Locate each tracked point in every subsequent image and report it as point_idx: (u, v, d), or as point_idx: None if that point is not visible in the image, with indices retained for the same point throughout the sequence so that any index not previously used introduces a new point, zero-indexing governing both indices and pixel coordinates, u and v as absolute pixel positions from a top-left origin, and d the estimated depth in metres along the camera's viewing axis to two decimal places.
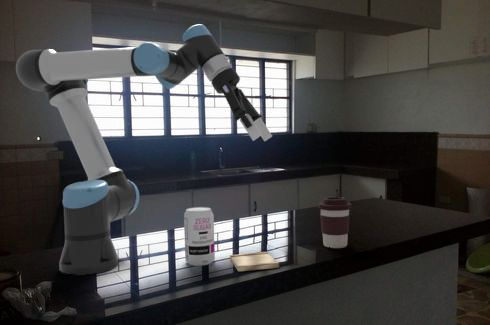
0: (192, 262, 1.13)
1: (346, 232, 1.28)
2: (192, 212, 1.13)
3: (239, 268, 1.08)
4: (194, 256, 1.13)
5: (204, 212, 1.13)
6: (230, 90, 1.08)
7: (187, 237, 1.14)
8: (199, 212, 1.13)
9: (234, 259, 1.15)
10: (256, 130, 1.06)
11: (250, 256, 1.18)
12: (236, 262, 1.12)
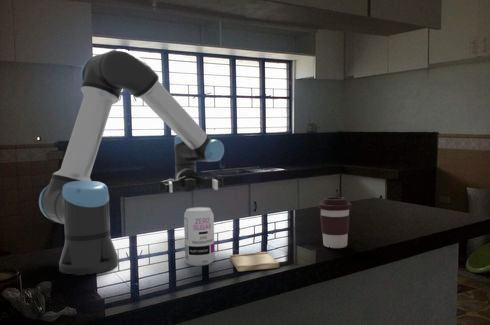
0: (192, 262, 1.13)
1: (346, 232, 1.28)
2: (192, 212, 1.13)
3: (239, 268, 1.08)
4: (194, 256, 1.13)
5: (204, 212, 1.13)
6: None
7: (187, 237, 1.14)
8: (199, 212, 1.13)
9: (234, 259, 1.15)
10: None
11: (250, 256, 1.18)
12: (236, 262, 1.12)
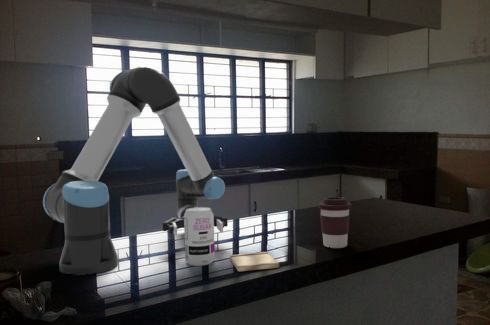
0: (192, 262, 1.13)
1: (346, 232, 1.28)
2: (192, 212, 1.13)
3: (239, 268, 1.08)
4: (194, 256, 1.13)
5: (204, 212, 1.13)
6: None
7: (187, 237, 1.14)
8: (199, 212, 1.13)
9: (234, 259, 1.15)
10: None
11: (250, 256, 1.18)
12: (236, 262, 1.12)
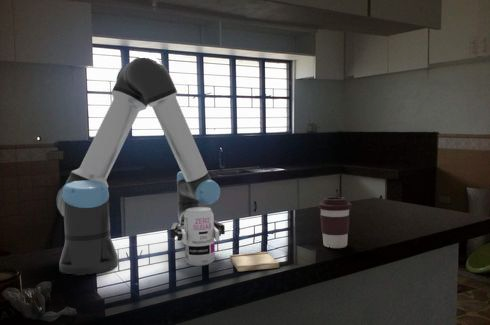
0: (192, 262, 1.13)
1: (346, 232, 1.28)
2: (192, 212, 1.13)
3: (239, 268, 1.08)
4: (194, 256, 1.13)
5: (204, 212, 1.13)
6: None
7: (187, 237, 1.14)
8: (199, 212, 1.13)
9: (234, 259, 1.15)
10: None
11: (250, 256, 1.18)
12: (236, 262, 1.12)
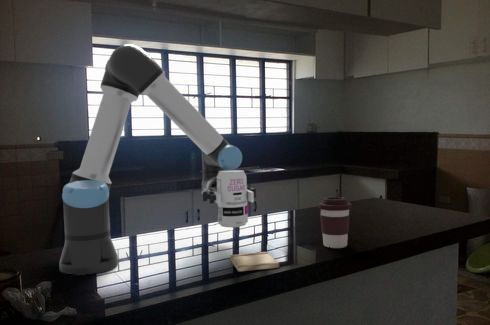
0: (226, 223, 1.12)
1: (346, 232, 1.28)
2: (226, 173, 1.12)
3: (239, 268, 1.08)
4: (228, 218, 1.12)
5: (238, 173, 1.12)
6: None
7: (221, 198, 1.13)
8: (233, 173, 1.12)
9: (234, 259, 1.15)
10: None
11: (250, 256, 1.18)
12: (236, 262, 1.12)
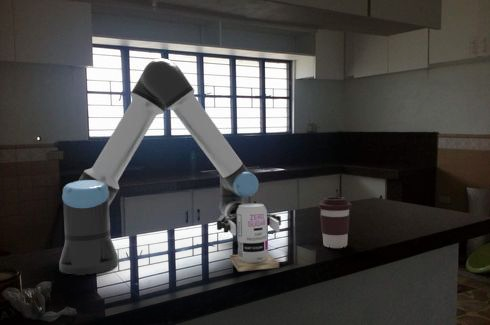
0: (247, 259, 1.11)
1: (346, 232, 1.28)
2: (246, 208, 1.10)
3: (239, 268, 1.08)
4: (248, 253, 1.10)
5: (258, 208, 1.11)
6: None
7: (241, 234, 1.11)
8: (254, 208, 1.10)
9: (234, 259, 1.15)
10: None
11: None
12: (236, 262, 1.12)
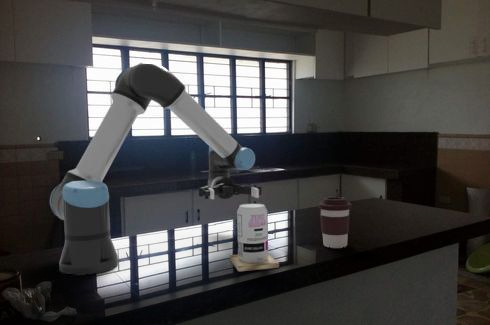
0: (247, 260, 1.11)
1: (346, 232, 1.28)
2: (247, 208, 1.10)
3: (239, 268, 1.08)
4: (249, 254, 1.10)
5: (259, 208, 1.10)
6: None
7: (241, 234, 1.11)
8: (254, 208, 1.10)
9: (234, 259, 1.15)
10: None
11: None
12: (236, 262, 1.12)
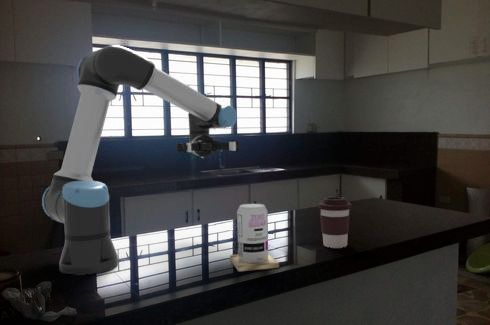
0: (247, 260, 1.11)
1: (346, 232, 1.28)
2: (247, 208, 1.10)
3: (239, 268, 1.08)
4: (249, 254, 1.10)
5: (259, 208, 1.11)
6: None
7: (241, 234, 1.11)
8: (254, 208, 1.10)
9: (234, 259, 1.15)
10: None
11: None
12: (236, 262, 1.12)
